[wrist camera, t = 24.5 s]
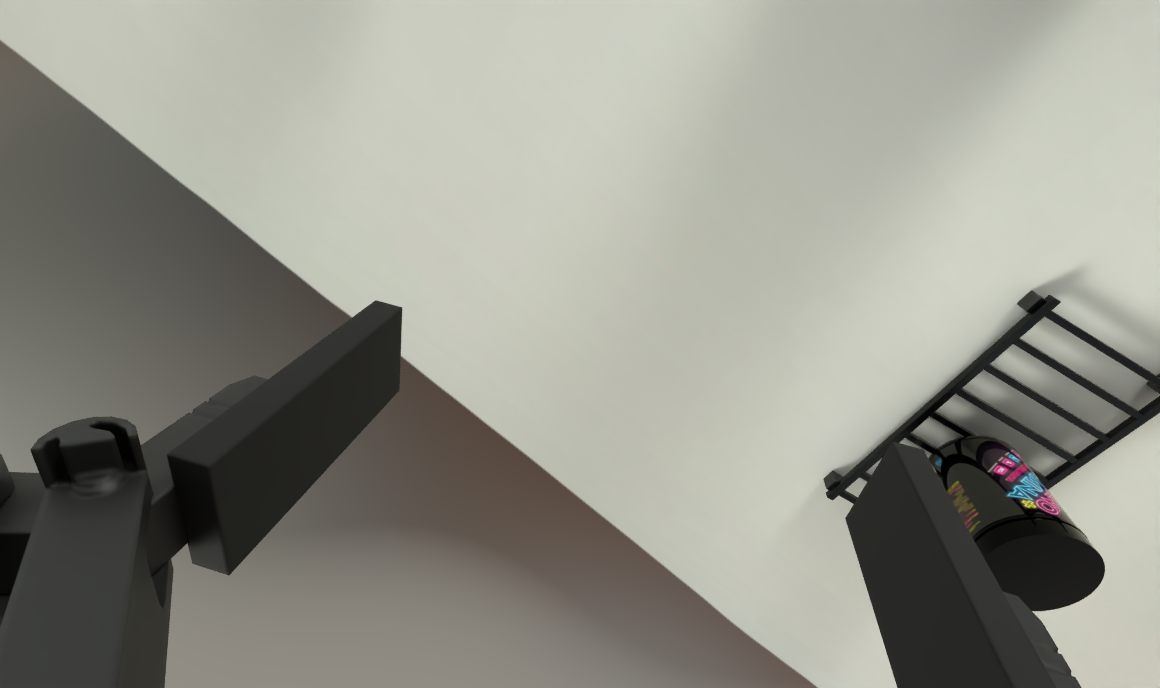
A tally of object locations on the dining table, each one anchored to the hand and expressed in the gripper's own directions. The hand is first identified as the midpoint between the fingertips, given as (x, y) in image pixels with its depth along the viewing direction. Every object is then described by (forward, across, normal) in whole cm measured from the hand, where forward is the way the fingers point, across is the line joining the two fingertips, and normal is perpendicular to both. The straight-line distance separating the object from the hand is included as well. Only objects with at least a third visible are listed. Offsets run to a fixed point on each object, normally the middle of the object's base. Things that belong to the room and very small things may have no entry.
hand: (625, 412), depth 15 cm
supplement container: (+27, +28, -15) cm, 42 cm away
